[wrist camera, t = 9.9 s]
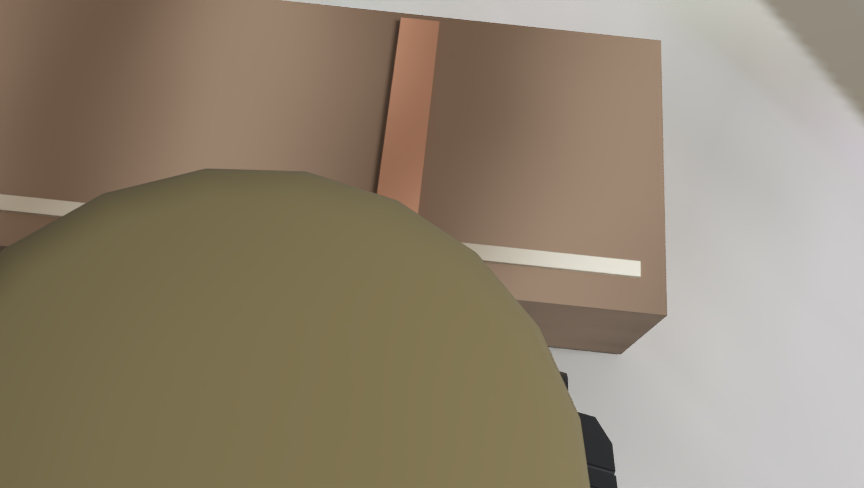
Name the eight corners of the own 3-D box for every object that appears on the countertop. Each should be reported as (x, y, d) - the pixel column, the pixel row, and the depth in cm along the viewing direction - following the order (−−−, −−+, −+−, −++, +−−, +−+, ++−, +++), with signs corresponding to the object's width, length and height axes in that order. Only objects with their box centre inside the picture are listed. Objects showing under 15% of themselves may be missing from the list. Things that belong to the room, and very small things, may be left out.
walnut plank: (-486, 238, 16) (-679, 172, 13) (-351, 13, 18) (-492, -86, 15) (620, 354, 16) (669, 313, 13) (621, 116, 18) (662, 36, 16)
